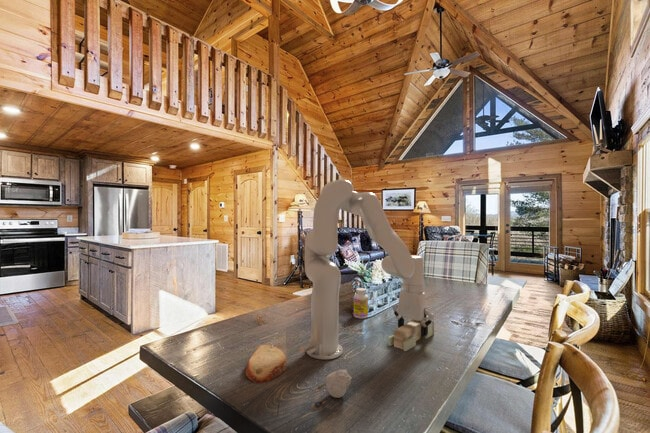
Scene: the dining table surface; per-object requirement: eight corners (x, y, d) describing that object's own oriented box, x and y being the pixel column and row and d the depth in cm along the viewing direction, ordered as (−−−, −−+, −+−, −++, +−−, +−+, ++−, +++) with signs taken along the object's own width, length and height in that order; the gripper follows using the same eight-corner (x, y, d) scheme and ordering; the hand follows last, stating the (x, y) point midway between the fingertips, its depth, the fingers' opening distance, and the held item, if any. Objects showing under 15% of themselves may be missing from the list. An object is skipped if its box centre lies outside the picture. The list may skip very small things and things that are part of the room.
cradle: (405, 351, 108) (405, 342, 108) (388, 345, 113) (388, 336, 113) (415, 345, 113) (415, 337, 113) (398, 339, 118) (398, 331, 118)
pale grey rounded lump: (347, 406, 77) (347, 378, 77) (321, 399, 79) (321, 372, 79) (354, 393, 83) (354, 367, 82) (329, 387, 85) (329, 362, 85)
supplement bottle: (351, 317, 143) (351, 289, 142) (356, 313, 148) (357, 286, 148) (365, 320, 139) (365, 291, 139) (370, 315, 145) (370, 288, 145)
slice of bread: (269, 348, 111) (269, 337, 110) (304, 364, 99) (304, 353, 99) (223, 366, 97) (223, 354, 97) (258, 388, 85) (258, 374, 85)
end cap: (426, 338, 119) (427, 317, 119) (410, 333, 124) (411, 313, 124) (433, 334, 124) (434, 313, 124) (418, 329, 128) (418, 309, 128)
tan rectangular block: (402, 349, 110) (402, 332, 110) (393, 346, 112) (394, 330, 112) (420, 338, 120) (421, 323, 120) (412, 335, 122) (412, 320, 122)
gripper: (388, 285, 121) (387, 329, 122) (429, 294, 109) (429, 342, 109) (398, 282, 127) (397, 324, 127) (439, 290, 115) (438, 336, 115)
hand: (412, 332), depth 118 cm, fingers open, 9 cm apart
